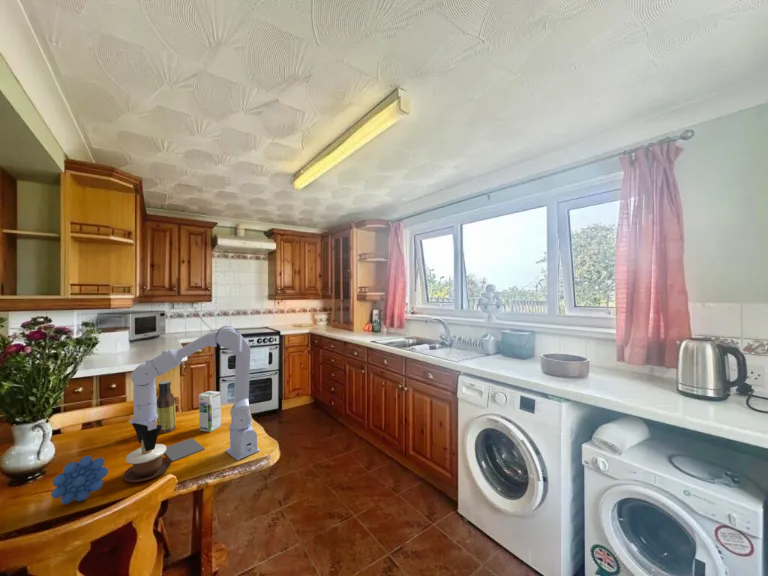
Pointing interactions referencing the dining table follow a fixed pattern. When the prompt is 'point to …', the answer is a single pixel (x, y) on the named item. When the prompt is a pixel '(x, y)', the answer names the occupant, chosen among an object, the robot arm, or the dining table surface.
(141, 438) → the robot arm
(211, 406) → the syrup box
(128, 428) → the dining table surface
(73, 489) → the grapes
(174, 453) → the plate
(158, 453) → the lid
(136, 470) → the cup and saucer
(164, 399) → the sauce bottle
